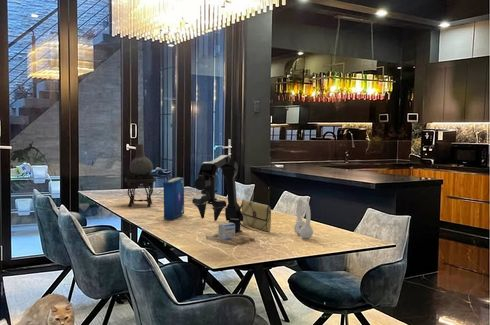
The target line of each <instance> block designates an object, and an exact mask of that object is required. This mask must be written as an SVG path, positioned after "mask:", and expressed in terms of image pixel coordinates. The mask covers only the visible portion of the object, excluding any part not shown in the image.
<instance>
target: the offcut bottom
mask: <svg viewBox="0 0 490 325" xmlns="http://www.w3.org/2000/svg"><path fill="white" fill-rule="evenodd" d="M231 241H232V240H231ZM232 242H235V241H232ZM249 242H250V241H244V242H239V243H238V242H236V243H237V245H242V244H246V243H249Z"/></svg>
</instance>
